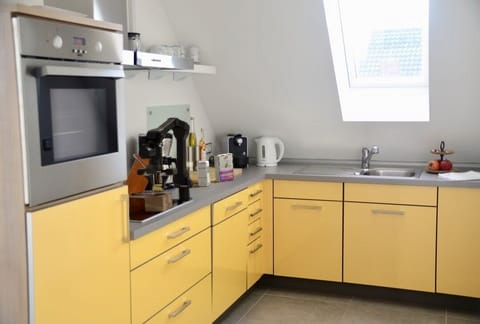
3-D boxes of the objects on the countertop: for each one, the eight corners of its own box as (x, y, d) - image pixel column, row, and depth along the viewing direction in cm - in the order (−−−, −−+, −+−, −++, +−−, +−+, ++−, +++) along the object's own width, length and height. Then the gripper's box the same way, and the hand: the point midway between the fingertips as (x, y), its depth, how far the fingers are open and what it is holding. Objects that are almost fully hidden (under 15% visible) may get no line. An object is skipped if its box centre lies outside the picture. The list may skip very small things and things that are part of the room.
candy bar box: (229, 179, 371) (227, 153, 369) (234, 180, 367) (233, 153, 365) (214, 181, 364) (213, 155, 362) (220, 182, 360) (218, 155, 358)
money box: (155, 206, 290) (154, 192, 289) (172, 206, 287) (171, 192, 286) (145, 211, 279) (144, 196, 278) (163, 211, 277) (162, 196, 276)
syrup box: (207, 186, 347) (206, 161, 345) (198, 186, 348) (196, 161, 346) (210, 184, 352) (209, 160, 351) (200, 184, 353) (199, 160, 352)
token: (155, 190, 285) (155, 184, 285) (165, 190, 284) (164, 184, 284) (151, 192, 281) (150, 186, 280) (160, 192, 279) (160, 186, 279)
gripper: (130, 159, 275) (132, 192, 277) (167, 158, 270) (169, 192, 272) (140, 156, 286) (142, 188, 288) (176, 155, 281) (178, 188, 283)
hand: (158, 189), depth 282 cm, fingers closed on token, 5 cm apart
